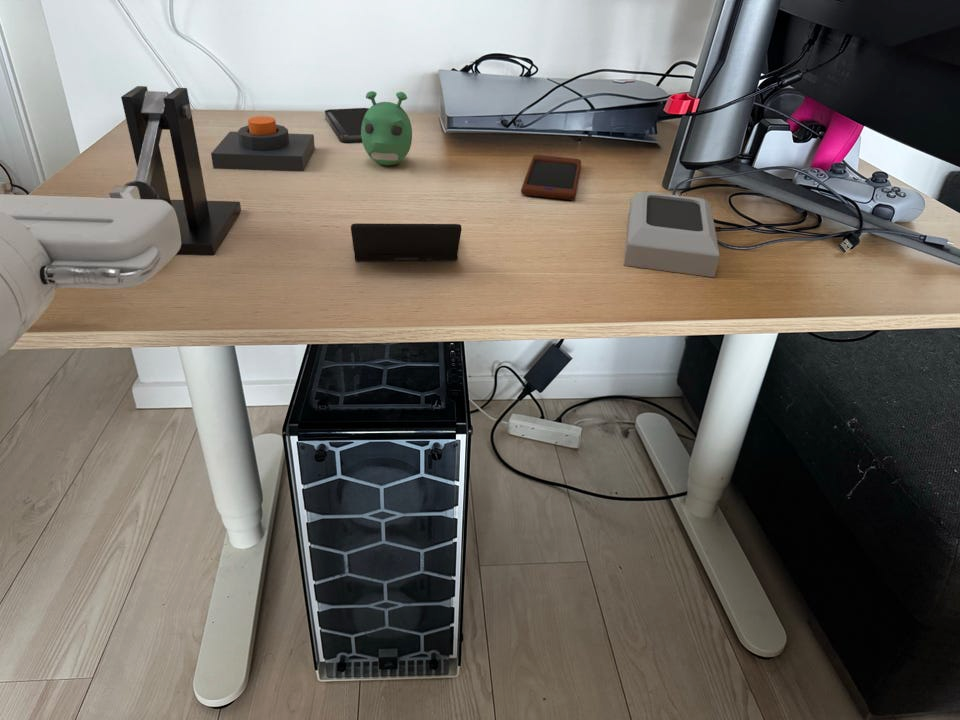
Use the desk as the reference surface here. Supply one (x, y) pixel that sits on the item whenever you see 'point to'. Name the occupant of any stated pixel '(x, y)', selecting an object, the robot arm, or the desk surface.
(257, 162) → the button box
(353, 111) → the phone
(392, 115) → the alien toy
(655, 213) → the grey tapered block
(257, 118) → the button
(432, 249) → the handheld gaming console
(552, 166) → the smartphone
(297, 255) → the desk surface
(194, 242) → the bracket
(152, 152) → the lever
